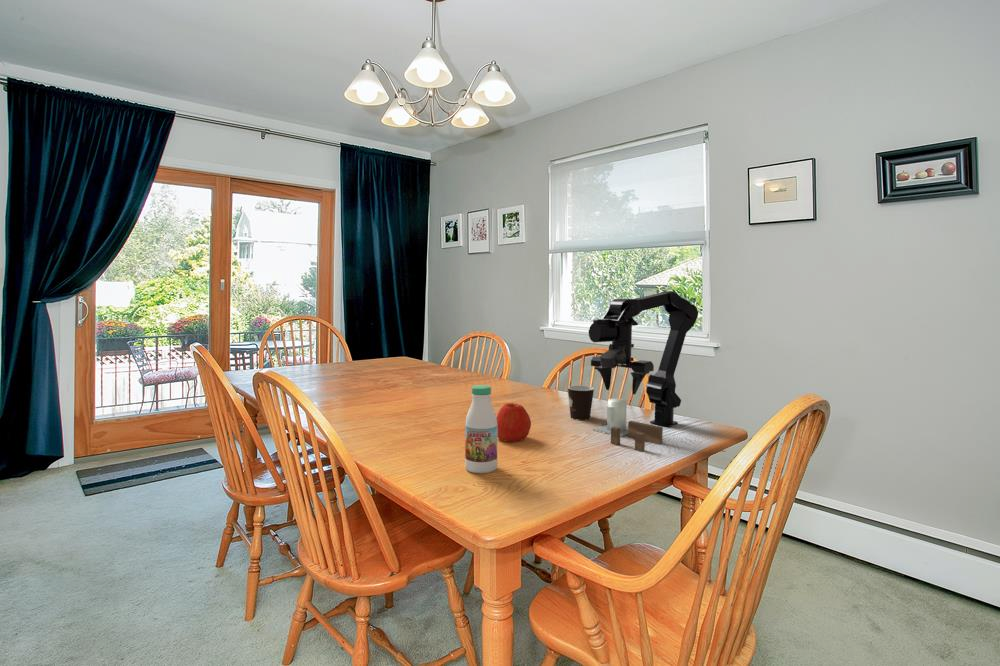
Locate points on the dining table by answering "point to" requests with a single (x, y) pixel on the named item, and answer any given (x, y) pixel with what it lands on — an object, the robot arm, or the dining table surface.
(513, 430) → the apple
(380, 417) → the dining table surface
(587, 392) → the coffee mug
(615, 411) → the cylinder with square knob
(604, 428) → the slate mat
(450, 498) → the dining table surface
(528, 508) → the dining table surface
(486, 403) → the milk bottle
